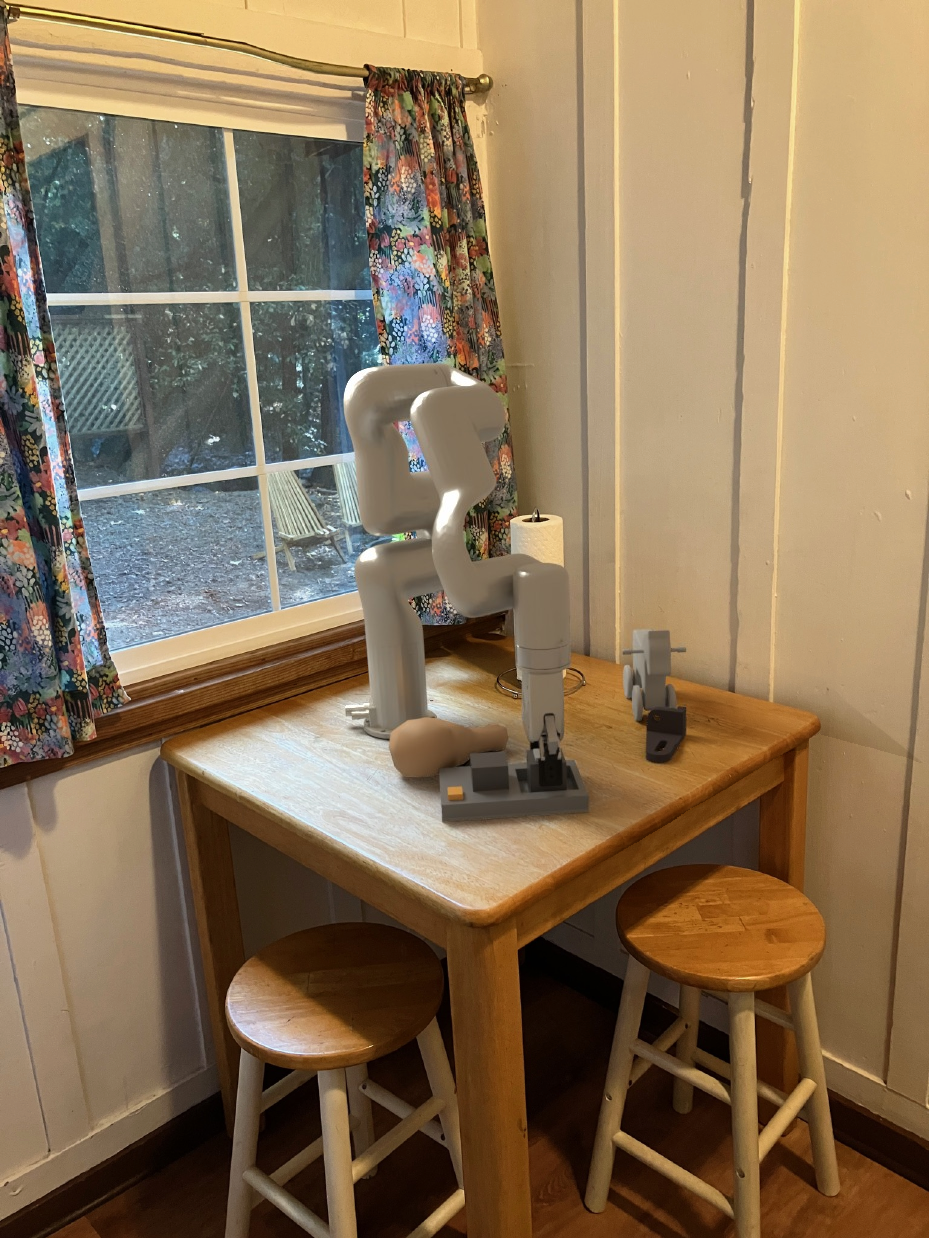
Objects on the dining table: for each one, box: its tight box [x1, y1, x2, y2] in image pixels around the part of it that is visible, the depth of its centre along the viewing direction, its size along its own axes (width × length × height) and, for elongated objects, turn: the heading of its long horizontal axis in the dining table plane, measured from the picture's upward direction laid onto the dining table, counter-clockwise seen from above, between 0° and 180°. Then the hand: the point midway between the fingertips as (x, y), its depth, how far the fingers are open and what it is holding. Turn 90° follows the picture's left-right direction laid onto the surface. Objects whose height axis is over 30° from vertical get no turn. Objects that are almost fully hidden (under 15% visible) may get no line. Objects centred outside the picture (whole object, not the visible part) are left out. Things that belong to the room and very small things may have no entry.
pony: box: [622, 628, 687, 722], centre depth 164 cm, size 20×10×17 cm, turn 179°
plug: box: [525, 747, 567, 793], centre depth 136 cm, size 5×5×6 cm
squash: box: [388, 717, 509, 778], centre depth 148 cm, size 11×20×9 cm, turn 127°
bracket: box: [645, 705, 687, 764], centre depth 151 cm, size 6×12×5 cm, turn 155°
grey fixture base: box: [438, 751, 590, 823], centre depth 136 cm, size 20×12×6 cm, turn 93°
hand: (545, 770), depth 135 cm, fingers open, 9 cm apart
